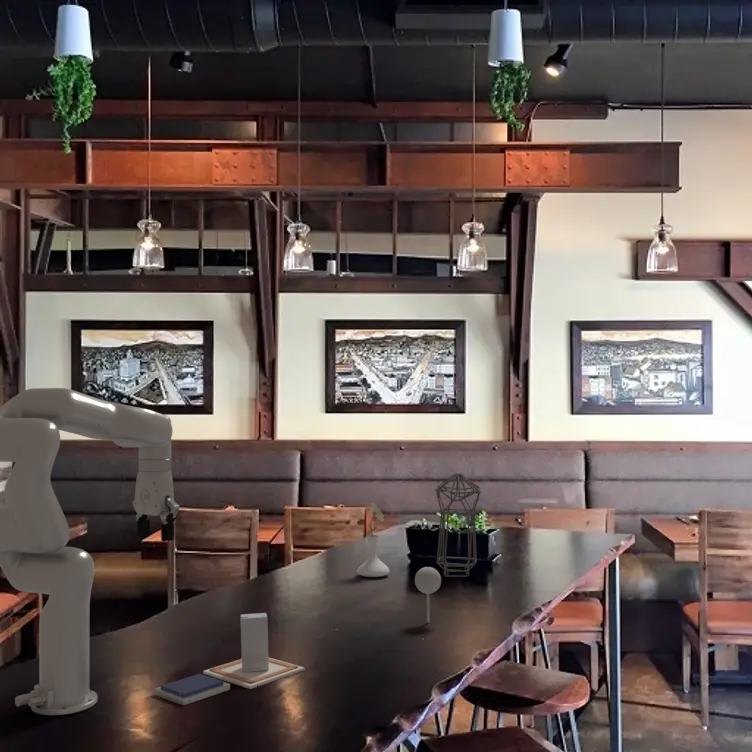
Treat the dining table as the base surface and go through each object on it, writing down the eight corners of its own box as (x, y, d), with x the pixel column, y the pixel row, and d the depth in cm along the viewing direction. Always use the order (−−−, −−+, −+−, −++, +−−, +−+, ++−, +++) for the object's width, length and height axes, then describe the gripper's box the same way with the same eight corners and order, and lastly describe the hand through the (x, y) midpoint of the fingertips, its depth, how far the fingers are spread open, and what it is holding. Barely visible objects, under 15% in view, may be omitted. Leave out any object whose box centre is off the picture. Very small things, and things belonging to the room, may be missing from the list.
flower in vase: (389, 579, 288) (389, 505, 289) (356, 579, 288) (355, 505, 289) (389, 571, 301) (389, 500, 302) (357, 571, 301) (356, 500, 302)
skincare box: (267, 665, 195) (267, 611, 195) (269, 671, 191) (268, 616, 191) (240, 667, 194) (240, 613, 194) (241, 673, 189) (240, 618, 190)
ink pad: (183, 705, 172) (183, 696, 172) (154, 694, 178) (153, 685, 178) (230, 689, 181) (230, 681, 181) (200, 679, 187) (200, 671, 187)
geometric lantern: (435, 569, 304) (437, 471, 305) (480, 571, 302) (481, 472, 303) (432, 578, 289) (434, 474, 290) (479, 580, 286) (480, 475, 288)
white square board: (250, 689, 181) (250, 684, 181) (203, 673, 191) (203, 669, 191) (304, 670, 193) (304, 666, 193) (257, 656, 203) (257, 652, 203)
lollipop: (446, 622, 233) (446, 566, 233) (430, 627, 228) (429, 570, 228) (426, 617, 238) (426, 563, 238) (409, 622, 233) (409, 567, 233)
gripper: (121, 466, 207) (121, 537, 207) (163, 469, 196) (163, 544, 195) (147, 464, 213) (147, 533, 212) (190, 467, 201) (190, 540, 201)
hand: (155, 538), depth 204 cm, fingers open, 9 cm apart
